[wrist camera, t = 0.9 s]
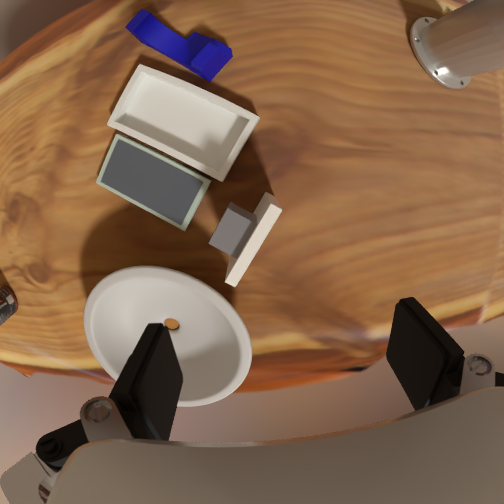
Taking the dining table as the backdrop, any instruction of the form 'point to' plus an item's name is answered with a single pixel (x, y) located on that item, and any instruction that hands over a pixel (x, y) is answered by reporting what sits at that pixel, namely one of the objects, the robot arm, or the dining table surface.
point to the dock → (183, 121)
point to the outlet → (244, 234)
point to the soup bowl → (184, 338)
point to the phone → (152, 181)
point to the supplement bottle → (7, 304)
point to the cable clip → (181, 45)
